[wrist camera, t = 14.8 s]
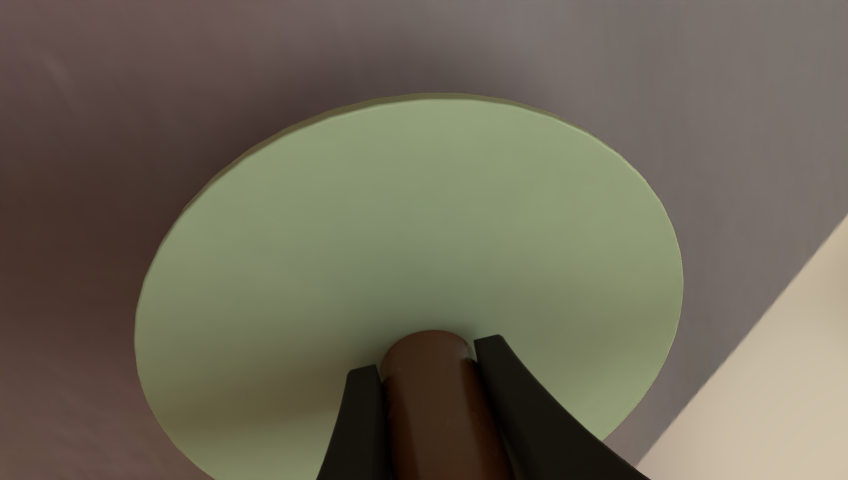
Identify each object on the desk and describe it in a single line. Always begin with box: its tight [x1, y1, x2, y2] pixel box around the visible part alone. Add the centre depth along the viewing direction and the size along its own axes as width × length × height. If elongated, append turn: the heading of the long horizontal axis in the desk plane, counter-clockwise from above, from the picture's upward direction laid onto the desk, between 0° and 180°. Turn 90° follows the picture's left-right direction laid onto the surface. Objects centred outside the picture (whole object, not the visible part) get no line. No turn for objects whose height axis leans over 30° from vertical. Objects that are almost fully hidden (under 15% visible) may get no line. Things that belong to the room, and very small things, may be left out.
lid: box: [134, 93, 684, 480], centre depth 12 cm, size 13×13×5 cm
